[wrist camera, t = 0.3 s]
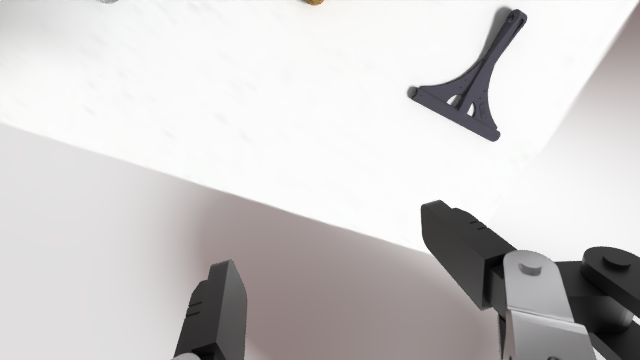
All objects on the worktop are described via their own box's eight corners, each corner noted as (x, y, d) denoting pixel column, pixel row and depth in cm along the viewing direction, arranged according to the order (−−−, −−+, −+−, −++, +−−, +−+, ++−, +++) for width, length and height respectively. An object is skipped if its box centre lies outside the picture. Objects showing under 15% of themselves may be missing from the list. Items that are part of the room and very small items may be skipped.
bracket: (550, 41, 38) (569, 38, 36) (488, 140, 42) (501, 144, 39) (467, -15, 35) (482, -23, 32) (408, 98, 39) (417, 99, 36)
